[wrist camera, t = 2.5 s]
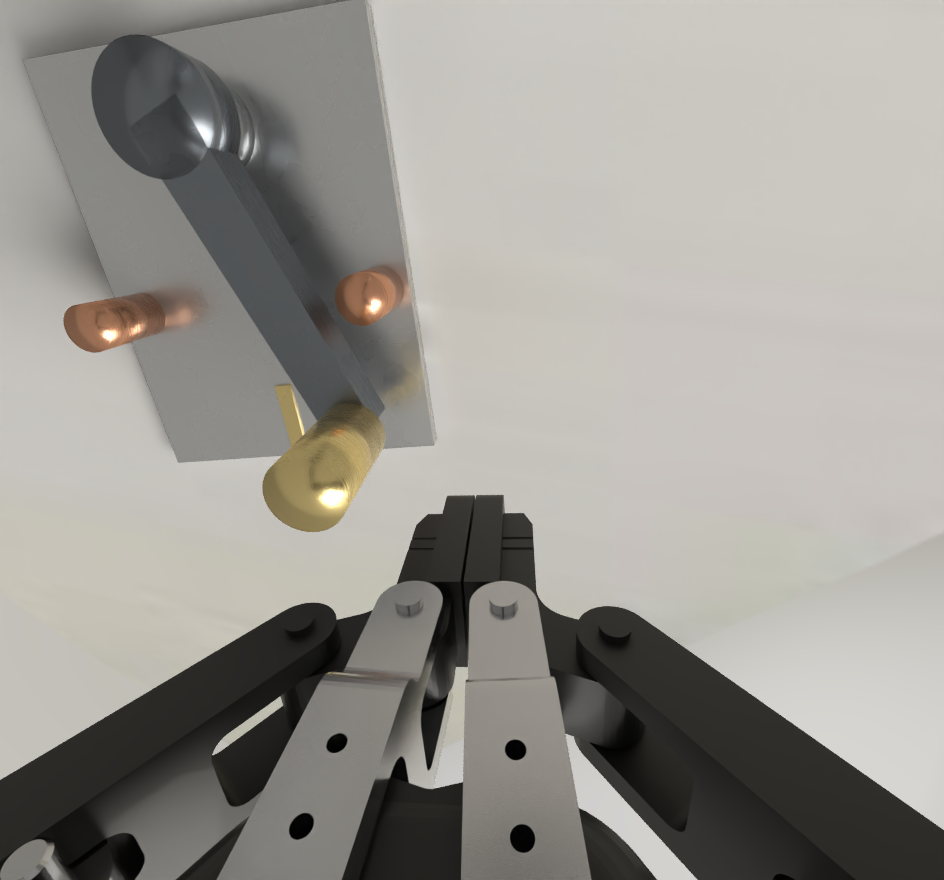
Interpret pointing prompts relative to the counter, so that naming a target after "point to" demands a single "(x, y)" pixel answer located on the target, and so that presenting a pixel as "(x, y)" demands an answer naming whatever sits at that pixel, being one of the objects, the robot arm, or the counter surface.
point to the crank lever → (245, 263)
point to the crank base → (294, 208)
